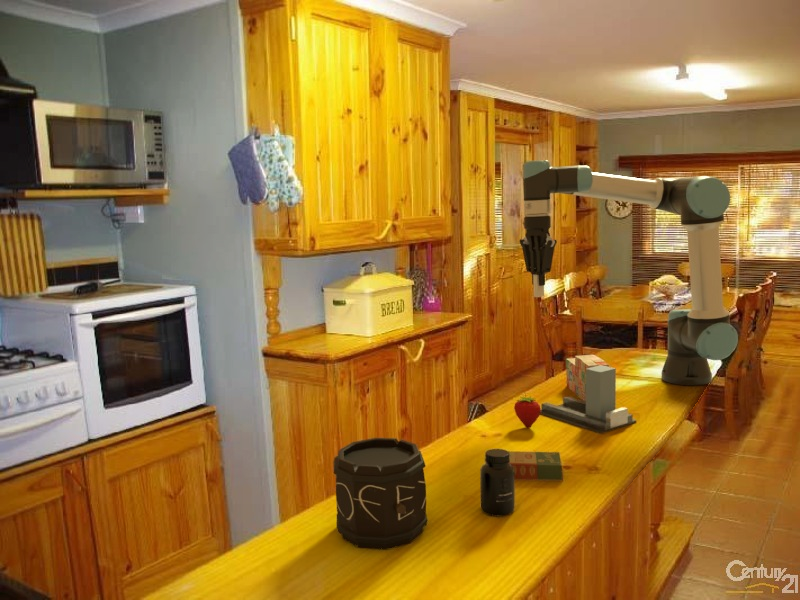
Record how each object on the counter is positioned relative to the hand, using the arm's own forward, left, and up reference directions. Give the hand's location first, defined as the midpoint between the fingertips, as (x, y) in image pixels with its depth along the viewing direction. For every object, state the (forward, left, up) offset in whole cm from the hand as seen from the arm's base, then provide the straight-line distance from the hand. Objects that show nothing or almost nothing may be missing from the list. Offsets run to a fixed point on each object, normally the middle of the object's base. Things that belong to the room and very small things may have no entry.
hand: (538, 296), depth 209 cm
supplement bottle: (+58, +46, -32) cm, 81 cm away
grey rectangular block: (+1, +24, -32) cm, 40 cm away
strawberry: (+19, +14, -32) cm, 40 cm away
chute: (+1, +18, -32) cm, 37 cm away
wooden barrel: (+81, +39, -32) cm, 96 cm away
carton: (+41, +36, -33) cm, 63 cm away
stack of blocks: (-16, +4, -32) cm, 36 cm away
